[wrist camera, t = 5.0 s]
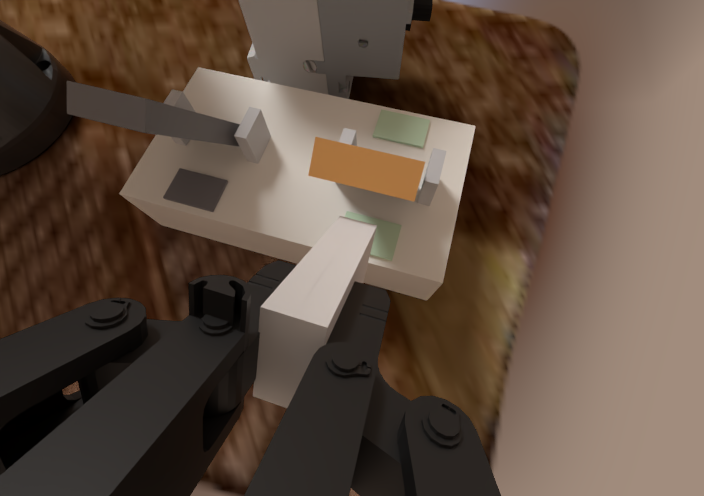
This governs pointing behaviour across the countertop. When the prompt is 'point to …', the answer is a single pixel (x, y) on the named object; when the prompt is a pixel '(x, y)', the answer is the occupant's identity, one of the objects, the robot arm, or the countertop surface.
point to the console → (304, 177)
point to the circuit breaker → (328, 40)
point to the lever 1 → (146, 115)
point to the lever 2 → (366, 168)
